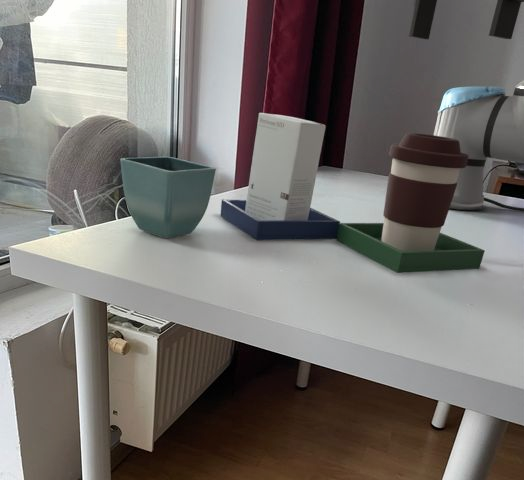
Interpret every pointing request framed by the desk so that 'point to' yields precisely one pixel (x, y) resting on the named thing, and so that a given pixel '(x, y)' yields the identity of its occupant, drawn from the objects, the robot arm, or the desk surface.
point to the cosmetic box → (284, 167)
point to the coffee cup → (420, 190)
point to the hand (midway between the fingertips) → (455, 38)
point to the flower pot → (166, 193)
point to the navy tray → (279, 224)
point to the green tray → (442, 258)
